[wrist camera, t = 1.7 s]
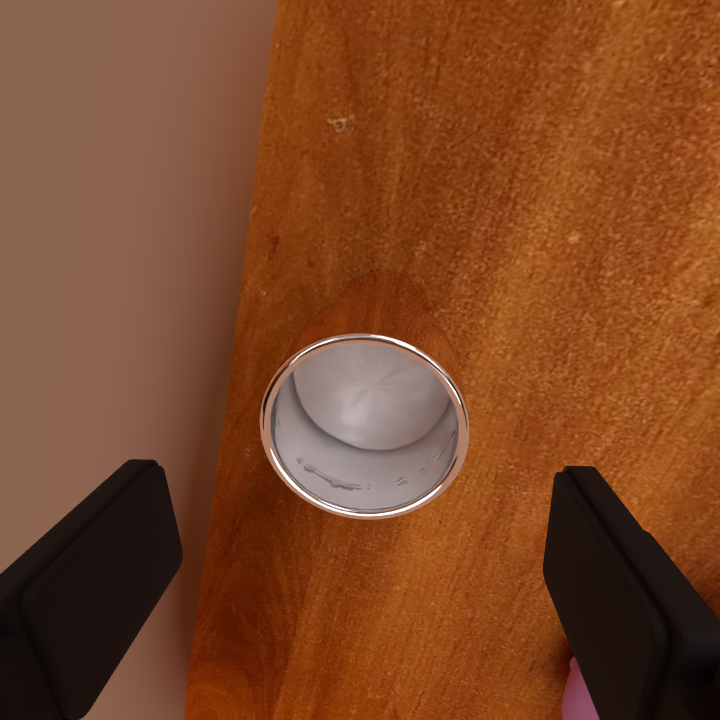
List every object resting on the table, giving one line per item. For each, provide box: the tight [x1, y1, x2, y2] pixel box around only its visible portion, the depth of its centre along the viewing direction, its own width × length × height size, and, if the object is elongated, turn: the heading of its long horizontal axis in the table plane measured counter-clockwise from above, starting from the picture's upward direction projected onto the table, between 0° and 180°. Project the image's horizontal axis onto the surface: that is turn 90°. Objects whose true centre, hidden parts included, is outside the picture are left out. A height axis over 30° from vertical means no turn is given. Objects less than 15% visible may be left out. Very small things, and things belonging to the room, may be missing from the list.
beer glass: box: [260, 271, 470, 520], centre depth 20 cm, size 7×7×15 cm
